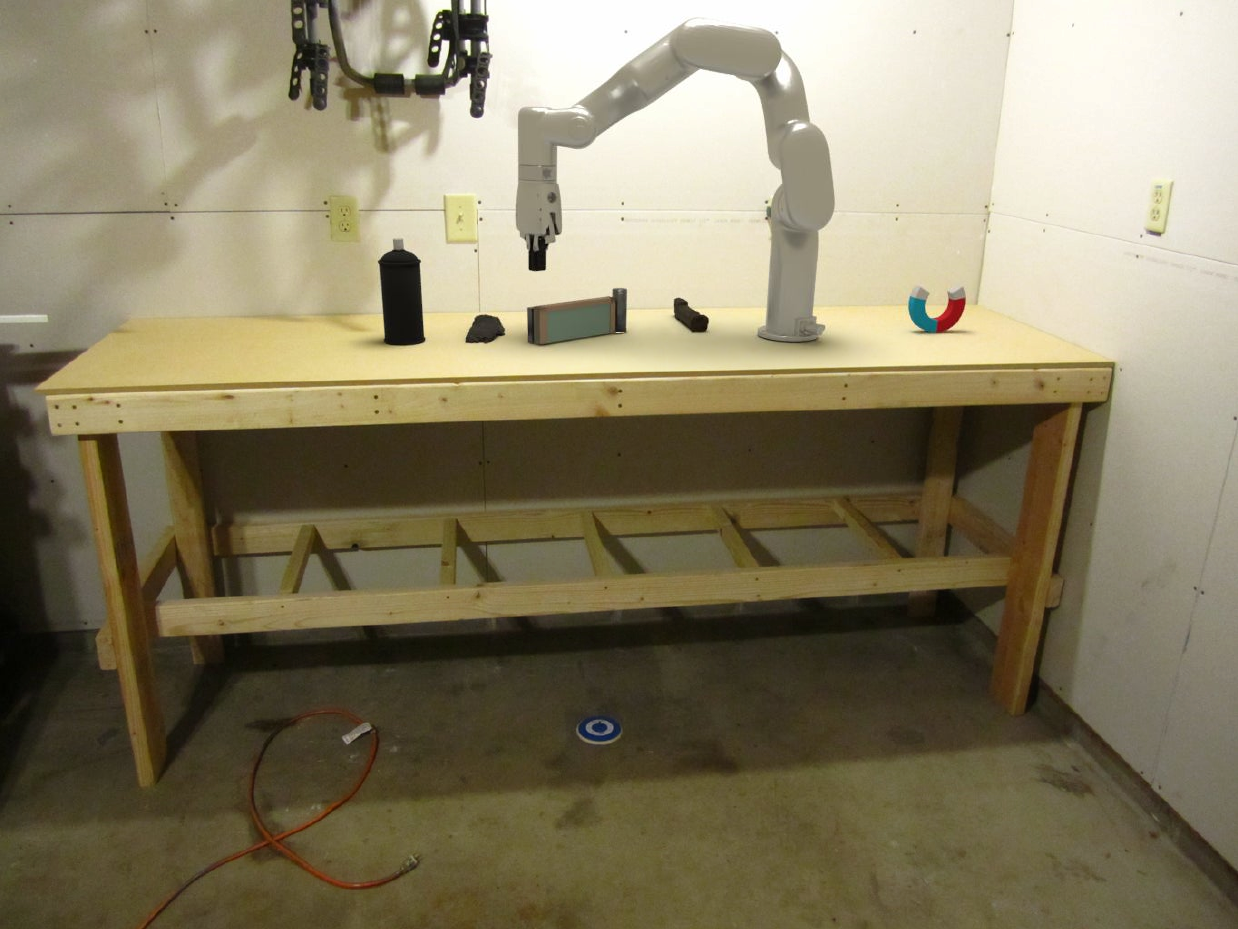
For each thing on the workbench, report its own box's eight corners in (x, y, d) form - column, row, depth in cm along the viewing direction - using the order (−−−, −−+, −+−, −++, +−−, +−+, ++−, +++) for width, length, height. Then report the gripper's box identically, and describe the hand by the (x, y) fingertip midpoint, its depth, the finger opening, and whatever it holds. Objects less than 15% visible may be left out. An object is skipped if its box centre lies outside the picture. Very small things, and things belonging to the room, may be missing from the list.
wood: (501, 346, 187) (501, 330, 186) (464, 345, 187) (463, 330, 186) (510, 323, 208) (510, 309, 207) (477, 323, 207) (476, 309, 206)
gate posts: (629, 332, 198) (629, 289, 195) (534, 344, 186) (533, 299, 183) (621, 329, 200) (621, 287, 197) (527, 341, 188) (526, 296, 185)
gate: (614, 332, 196) (615, 297, 194) (540, 344, 185) (539, 307, 182) (608, 330, 198) (609, 296, 195) (534, 342, 186) (533, 306, 184)
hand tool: (708, 333, 200) (710, 311, 198) (690, 333, 199) (691, 311, 197) (687, 316, 217) (687, 295, 215) (670, 316, 216) (670, 296, 215)
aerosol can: (434, 341, 188) (428, 239, 181) (399, 347, 182) (392, 242, 175) (409, 334, 193) (403, 235, 186) (375, 340, 188) (367, 238, 181)
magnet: (909, 333, 201) (915, 286, 197) (904, 330, 203) (910, 284, 200) (961, 332, 202) (968, 286, 199) (955, 330, 205) (962, 284, 201)
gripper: (576, 177, 179) (574, 274, 185) (531, 172, 190) (531, 264, 196) (544, 177, 174) (543, 277, 181) (499, 172, 185) (500, 266, 191)
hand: (537, 270), depth 188 cm, fingers closed
